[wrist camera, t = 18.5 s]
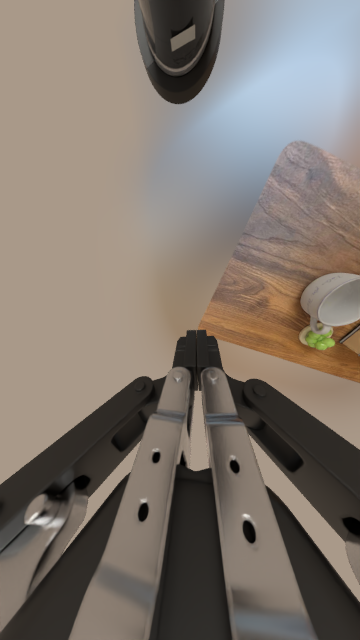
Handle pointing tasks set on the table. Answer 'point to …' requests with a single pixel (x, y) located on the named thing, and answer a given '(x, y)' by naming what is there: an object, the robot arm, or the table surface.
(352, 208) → the table surface
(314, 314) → the teacup
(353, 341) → the book
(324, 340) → the grapes
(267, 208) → the table surface
